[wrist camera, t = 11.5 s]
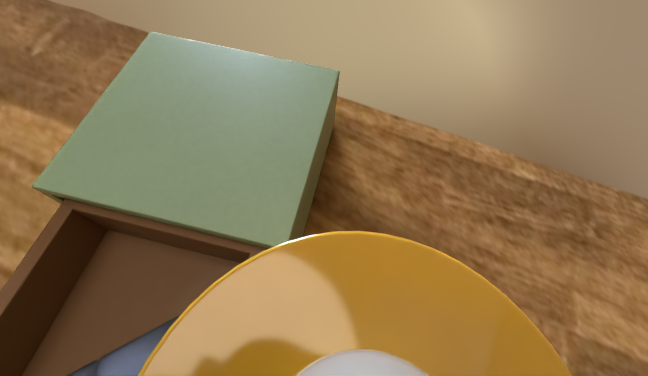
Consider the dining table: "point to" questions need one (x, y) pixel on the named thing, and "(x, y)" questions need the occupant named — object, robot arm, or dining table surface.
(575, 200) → the dining table surface
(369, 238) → the pepper mill
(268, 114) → the cabinet
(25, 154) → the dining table surface
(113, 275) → the drawer
